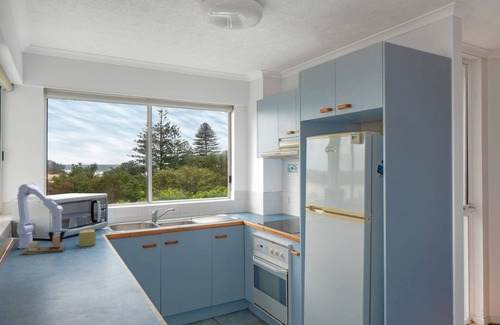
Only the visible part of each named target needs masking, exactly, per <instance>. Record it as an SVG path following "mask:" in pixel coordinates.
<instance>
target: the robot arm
mask: <svg viewBox="0 0 500 325" xmlns="http://www.w3.org/2000/svg"><path fill="white" fill-rule="evenodd" d="M30 195H35V197H37V198H38V199H40V200H41V201H42V202H43V206H45V207H46V208H47V209H48V210H49V213H50V214H51V229H44V234H47V235H48V237H49V239H50V241H51V244H53V236H54V235H55V234H54V233H59V235H60V243H61V244H62V243H63V239H64V236H65V234H66V233H69V230H70V229H69V228H62V226H63V224H62V214H63V212H64V207H63V206H62V205H60V204H58V203H56V202H55V201H54V198H49V197H47V196H46V195H45V193H43V191H42V190H41V189H40V188H39V186H38V185H36V184H35V183H34V182H33V183H26V184H21V185H20V186H19V187H18V192H17V195H16V197H17V206H18V215H19V216H18V217H19V222H18V223H17V228H16V233H17V234H18V243H19V244H18V245H19V246H18V247H17V248H19V249H27V248H29V243H30V242H33V235H32V233H33V231H34V229H35V226H34V224H33V221H32V220H30V213H29V205H28V197H29V196H30Z"/></svg>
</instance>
